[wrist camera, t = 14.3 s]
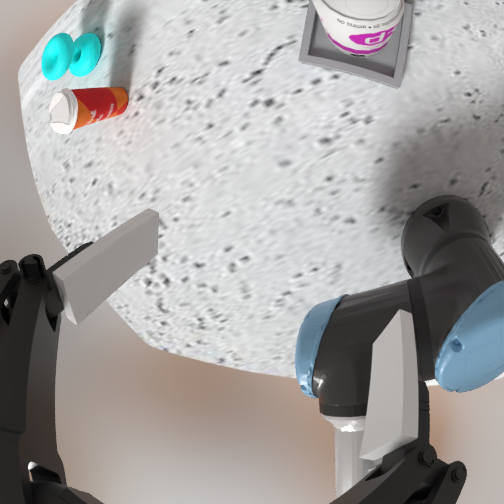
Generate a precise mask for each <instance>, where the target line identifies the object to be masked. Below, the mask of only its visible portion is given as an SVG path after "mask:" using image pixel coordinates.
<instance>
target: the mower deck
mask: <svg viewBox="0 0 504 504" xmlns="http://www.w3.org/2000/svg"><path fill="white" fill-rule="evenodd" d="M404 5H405V11H404V13H403V15H402V17H401V19H400V21H399V23H398V25H397V26H396V28H395V30H394V32H393V34H392V36H391V38H390V39H389V41H388V43H387V45H386V47H385V49H383V50H382V51H381V52H380V53H378V54H377V55H374V56H370V57H354V56H351V55H348V54H345V53H343V52H342V51H340V50H339V49H337V48H336V47H335V46H334V45H333V44H332V43H331V41H330V40H329V39H328V36H327V34H326V31H325V29H324V27H323V24H322V22H321V19H320V17H319V15H318V13H317V10H316V8H315V6H314V4H313V1H312V0H309V5H308V11H307V16H306V22H305V27H304V33H303V39H302V44H301V50H300V55H299V61H300V62H301V63H303V64H309V65H314V66H319V67H323V68H328V69H332V70H336V71H340V72H344V73H348V74H352V75H355V76H359V77H362V78H366V79H369V80H372V81H375V82H378V83H381V84H384V85H387V86H390V87H393V88H396V89H398V88H400V85H401V80H402V75H403V70H404V64H405V59H406V53H407V46H408V40H409V32H410V25H411V16H412V6H413V5H412V4H409V3H406V2H404Z"/></svg>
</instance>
